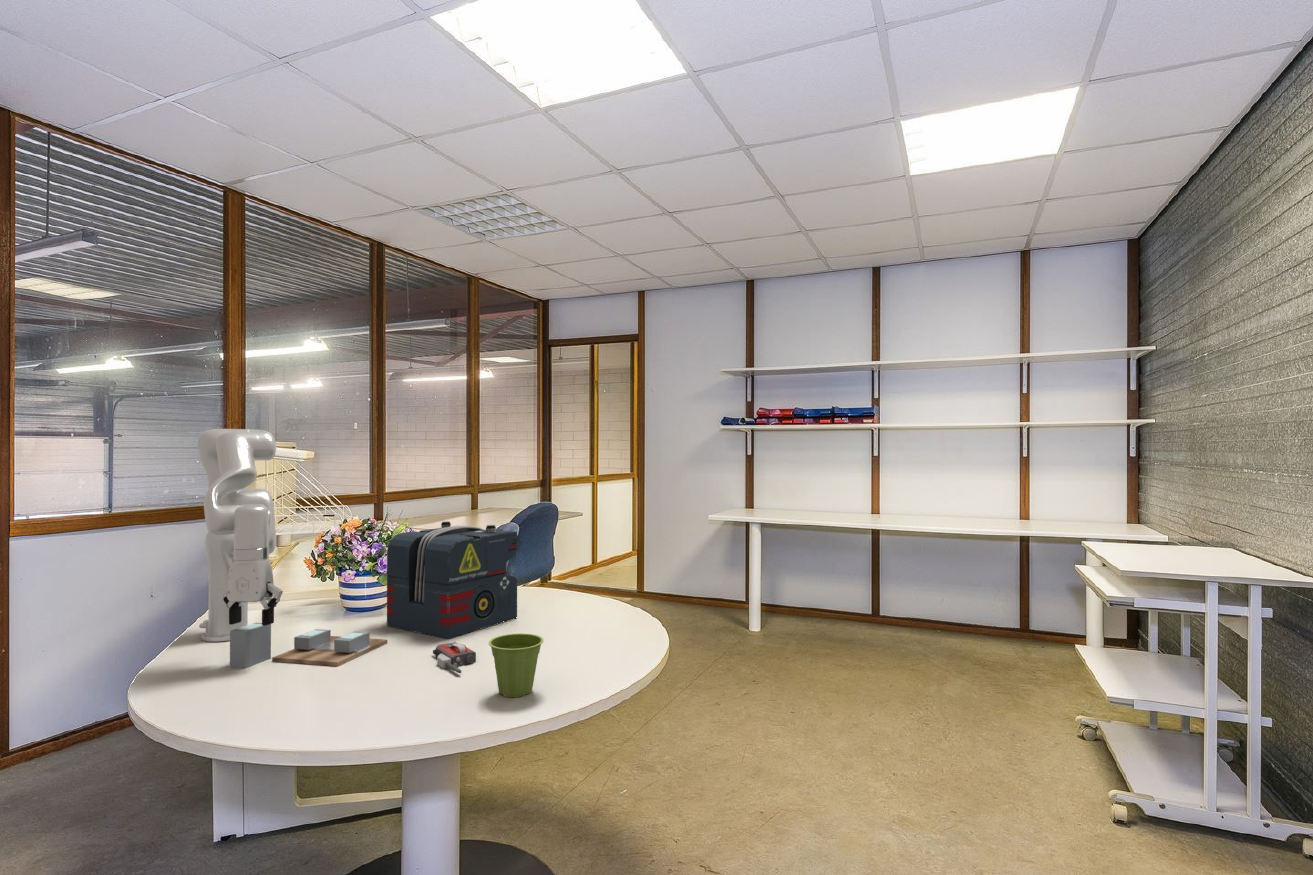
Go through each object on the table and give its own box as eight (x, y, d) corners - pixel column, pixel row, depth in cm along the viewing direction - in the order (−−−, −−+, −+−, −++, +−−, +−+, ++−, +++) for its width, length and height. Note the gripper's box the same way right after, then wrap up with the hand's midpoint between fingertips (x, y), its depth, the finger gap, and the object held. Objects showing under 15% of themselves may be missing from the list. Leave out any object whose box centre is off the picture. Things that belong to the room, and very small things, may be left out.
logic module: (229, 667, 163) (230, 630, 163) (255, 657, 171) (256, 621, 171) (245, 668, 162) (245, 631, 162) (270, 658, 170) (271, 622, 170)
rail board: (272, 661, 168) (272, 642, 168) (327, 639, 187) (327, 622, 187) (337, 666, 163) (337, 647, 164) (387, 643, 183) (387, 626, 183)
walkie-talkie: (424, 658, 171) (455, 678, 155) (424, 640, 171) (455, 659, 155) (457, 651, 176) (490, 670, 161) (457, 634, 176) (490, 652, 161)
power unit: (448, 639, 186) (448, 532, 187) (386, 626, 201) (386, 527, 201) (518, 618, 210) (518, 523, 211) (458, 607, 225) (458, 518, 225)
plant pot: (493, 705, 138) (493, 651, 138) (484, 687, 149) (484, 636, 149) (549, 697, 143) (549, 644, 143) (536, 679, 154) (536, 630, 154)
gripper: (209, 557, 165) (209, 626, 164) (269, 557, 161) (269, 628, 161) (235, 553, 172) (235, 619, 172) (292, 553, 169) (292, 621, 168)
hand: (251, 623), depth 166 cm, fingers open, 9 cm apart
